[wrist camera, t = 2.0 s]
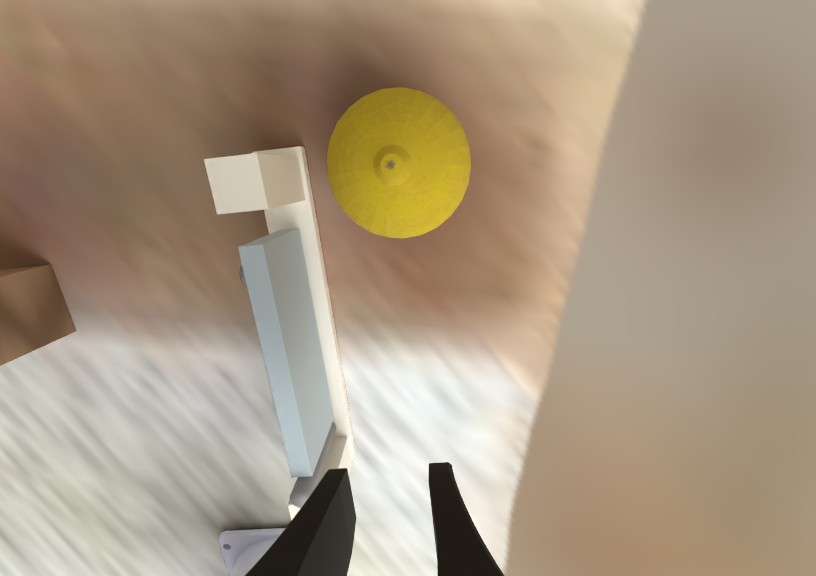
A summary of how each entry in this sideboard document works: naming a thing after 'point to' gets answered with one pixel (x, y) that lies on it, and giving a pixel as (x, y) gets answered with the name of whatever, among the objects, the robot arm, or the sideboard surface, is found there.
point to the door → (291, 352)
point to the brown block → (30, 311)
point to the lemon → (398, 162)
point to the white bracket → (294, 208)
